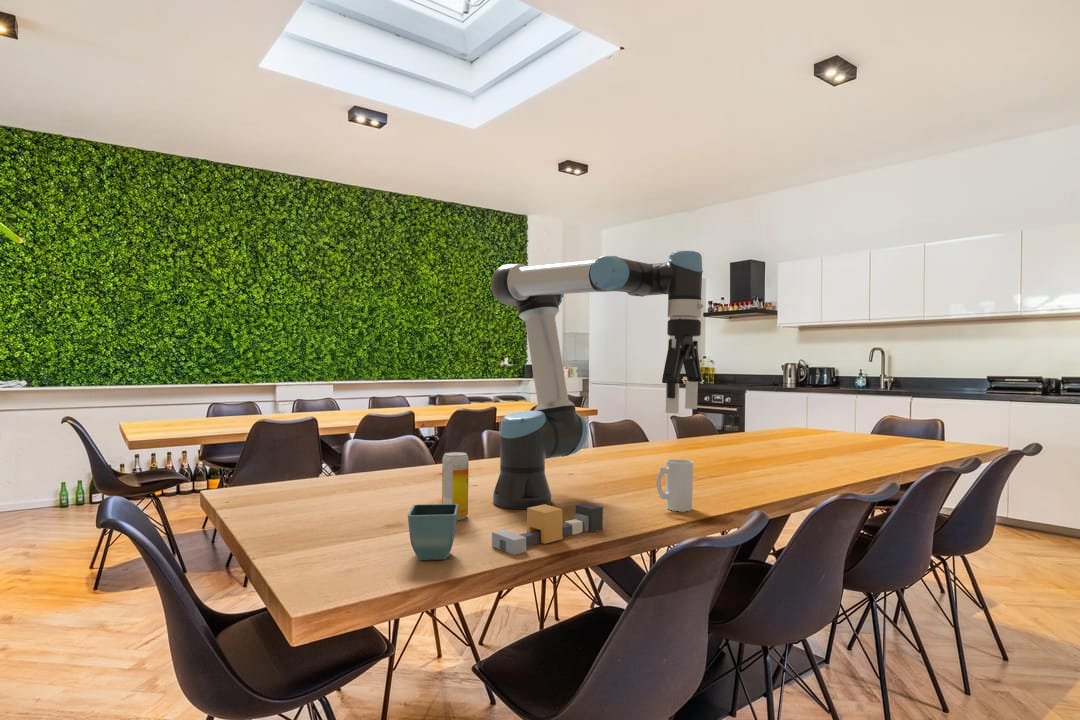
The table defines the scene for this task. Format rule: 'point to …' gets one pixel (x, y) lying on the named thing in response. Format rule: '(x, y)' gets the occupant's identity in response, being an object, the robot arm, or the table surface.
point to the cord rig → (585, 520)
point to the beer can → (455, 481)
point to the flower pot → (432, 530)
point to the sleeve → (545, 522)
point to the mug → (677, 484)
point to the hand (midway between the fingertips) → (681, 410)
